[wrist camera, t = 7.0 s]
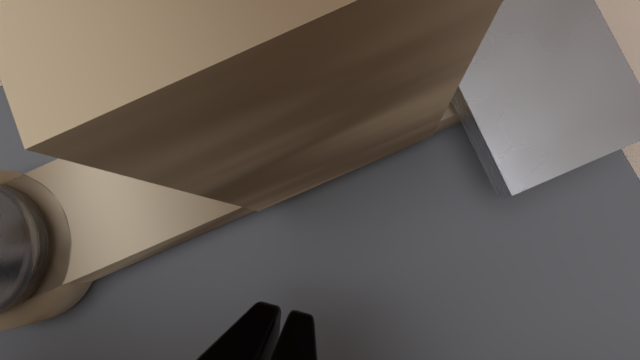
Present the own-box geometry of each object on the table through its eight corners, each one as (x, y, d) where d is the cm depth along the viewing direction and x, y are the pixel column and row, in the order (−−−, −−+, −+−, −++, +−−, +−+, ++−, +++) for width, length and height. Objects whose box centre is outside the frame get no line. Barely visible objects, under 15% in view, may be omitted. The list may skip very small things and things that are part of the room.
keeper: (-34, 273, 16) (-154, 283, 12) (215, -194, 17) (171, -312, 13) (416, 532, 14) (430, 632, 10) (673, -12, 15) (766, -93, 11)
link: (-11, 345, 15) (-834, 564, 5) (-53, 211, 16) (-873, 151, 5) (538, 109, 14) (944, -229, 4) (472, -24, 15) (683, -615, 5)
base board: (60, 828, 15) (33, 878, 14) (-165, 196, 18) (-203, 193, 17) (796, 487, 14) (834, 509, 13) (440, -122, 17) (445, -148, 16)
